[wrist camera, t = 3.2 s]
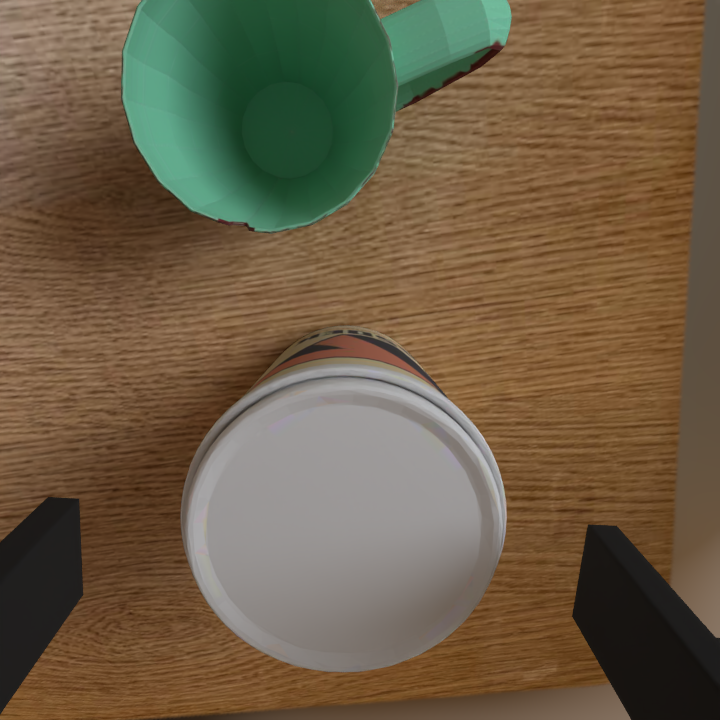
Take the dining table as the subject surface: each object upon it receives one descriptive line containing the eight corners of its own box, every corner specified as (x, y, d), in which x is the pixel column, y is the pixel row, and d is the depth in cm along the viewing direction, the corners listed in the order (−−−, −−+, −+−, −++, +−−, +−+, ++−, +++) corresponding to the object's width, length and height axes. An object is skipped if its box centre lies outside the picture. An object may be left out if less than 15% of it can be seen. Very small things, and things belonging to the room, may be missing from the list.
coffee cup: (468, 332, 27) (558, 417, 16) (417, 514, 29) (462, 708, 18) (267, 285, 27) (204, 338, 15) (229, 474, 29) (148, 650, 17)
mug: (238, 256, 26) (189, 272, 18) (160, 71, 25) (70, 0, 17) (496, 156, 26) (562, 127, 18) (435, -43, 24) (479, -174, 16)
